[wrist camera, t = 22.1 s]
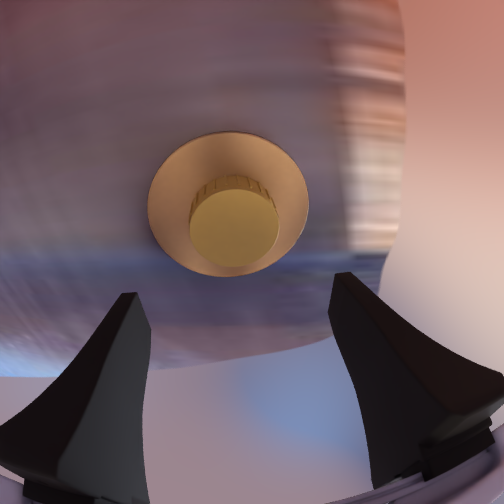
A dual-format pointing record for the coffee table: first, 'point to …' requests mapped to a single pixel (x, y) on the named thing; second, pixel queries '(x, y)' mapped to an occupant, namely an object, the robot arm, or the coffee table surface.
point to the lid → (233, 221)
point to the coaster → (216, 166)
